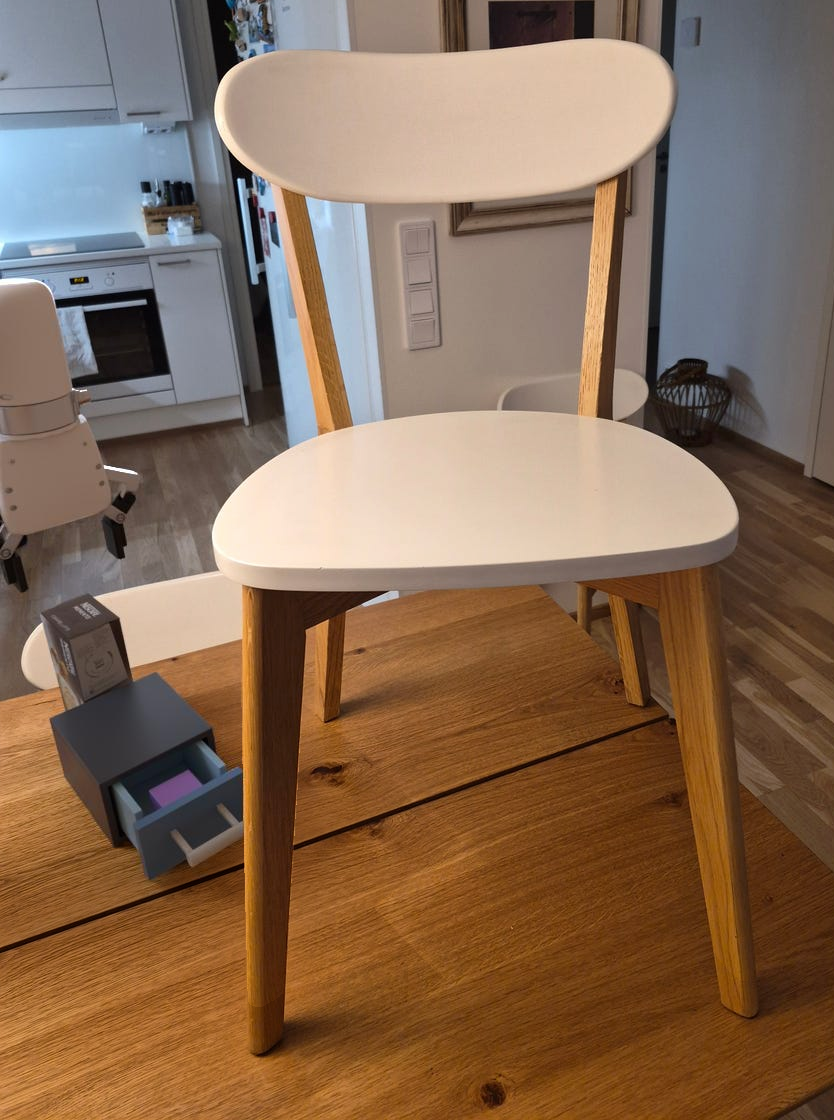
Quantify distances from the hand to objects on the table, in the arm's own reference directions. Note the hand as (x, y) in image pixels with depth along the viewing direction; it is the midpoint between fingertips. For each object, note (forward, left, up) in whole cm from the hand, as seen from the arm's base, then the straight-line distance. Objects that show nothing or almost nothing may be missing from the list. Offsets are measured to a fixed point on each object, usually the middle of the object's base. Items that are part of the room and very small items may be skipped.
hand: (70, 570), depth 88 cm
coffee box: (+3, +12, -28) cm, 31 cm away
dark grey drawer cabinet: (+2, -2, -28) cm, 28 cm away
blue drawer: (+2, -13, -27) cm, 30 cm away
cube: (+2, -13, -26) cm, 29 cm away
